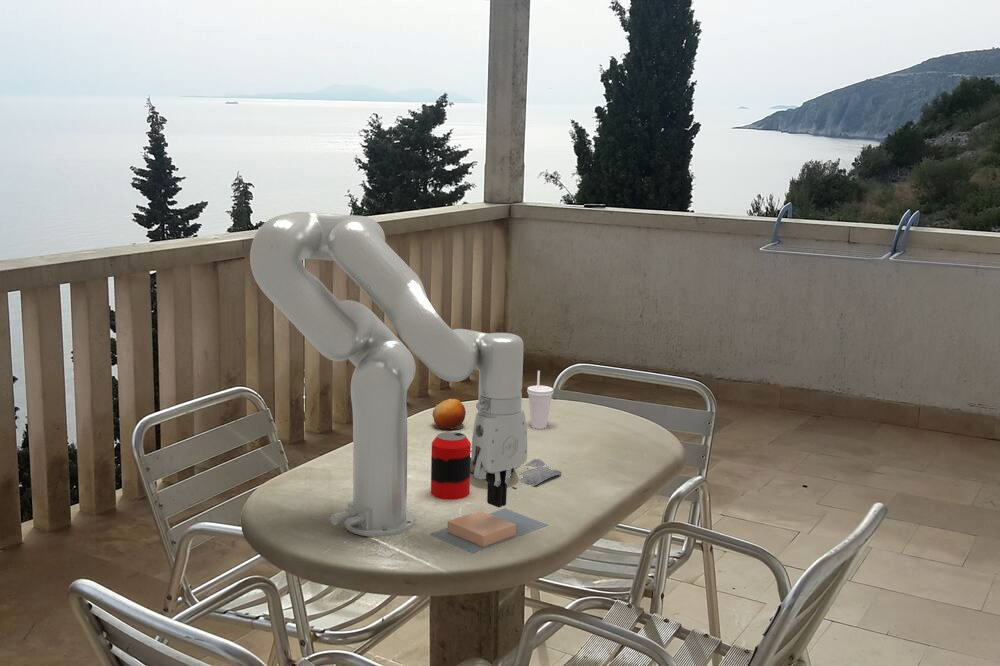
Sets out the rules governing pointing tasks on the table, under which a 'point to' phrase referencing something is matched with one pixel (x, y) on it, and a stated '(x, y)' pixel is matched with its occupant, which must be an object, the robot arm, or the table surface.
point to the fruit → (449, 414)
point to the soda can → (450, 466)
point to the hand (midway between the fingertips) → (496, 504)
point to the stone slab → (537, 473)
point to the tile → (481, 528)
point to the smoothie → (539, 404)
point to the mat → (522, 528)
